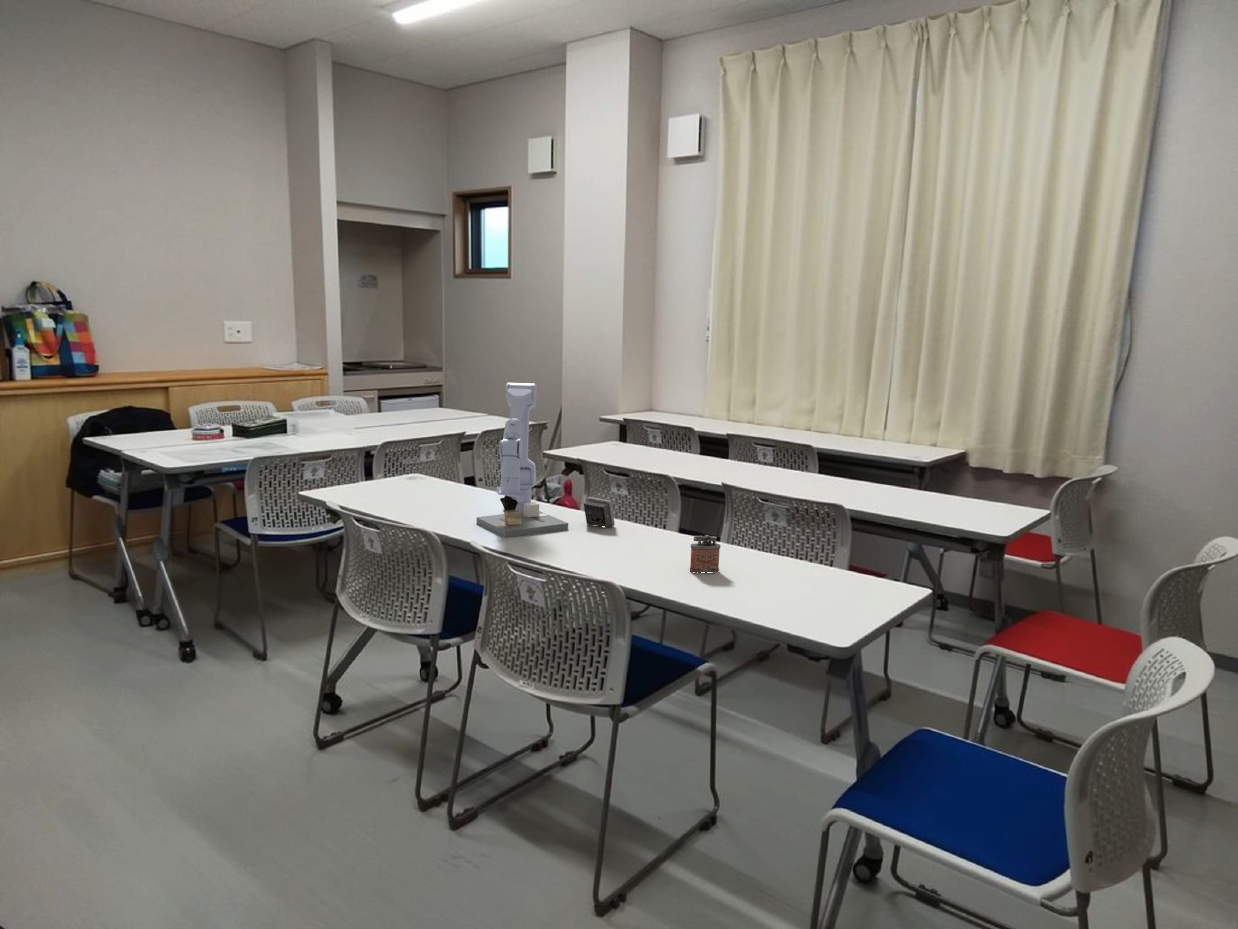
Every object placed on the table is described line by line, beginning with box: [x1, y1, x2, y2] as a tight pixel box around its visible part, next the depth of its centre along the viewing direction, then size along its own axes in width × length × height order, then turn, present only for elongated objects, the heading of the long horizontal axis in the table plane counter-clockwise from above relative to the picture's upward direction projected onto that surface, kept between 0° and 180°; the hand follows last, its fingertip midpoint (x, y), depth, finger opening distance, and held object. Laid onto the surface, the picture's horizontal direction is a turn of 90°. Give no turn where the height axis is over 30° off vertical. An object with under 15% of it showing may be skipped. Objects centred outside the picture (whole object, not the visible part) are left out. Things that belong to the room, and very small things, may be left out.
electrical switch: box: [583, 496, 615, 529], centre depth 265 cm, size 9×5×9 cm, turn 57°
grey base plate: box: [476, 510, 569, 539], centre depth 262 cm, size 20×22×2 cm
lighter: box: [689, 534, 721, 573], centre depth 221 cm, size 8×3×10 cm, turn 100°
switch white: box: [524, 501, 540, 517], centre depth 267 cm, size 3×4×4 cm
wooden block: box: [504, 509, 521, 525], centre depth 256 cm, size 3×4×4 cm
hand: (509, 520), depth 258 cm, fingers closed, pressing on wooden block
